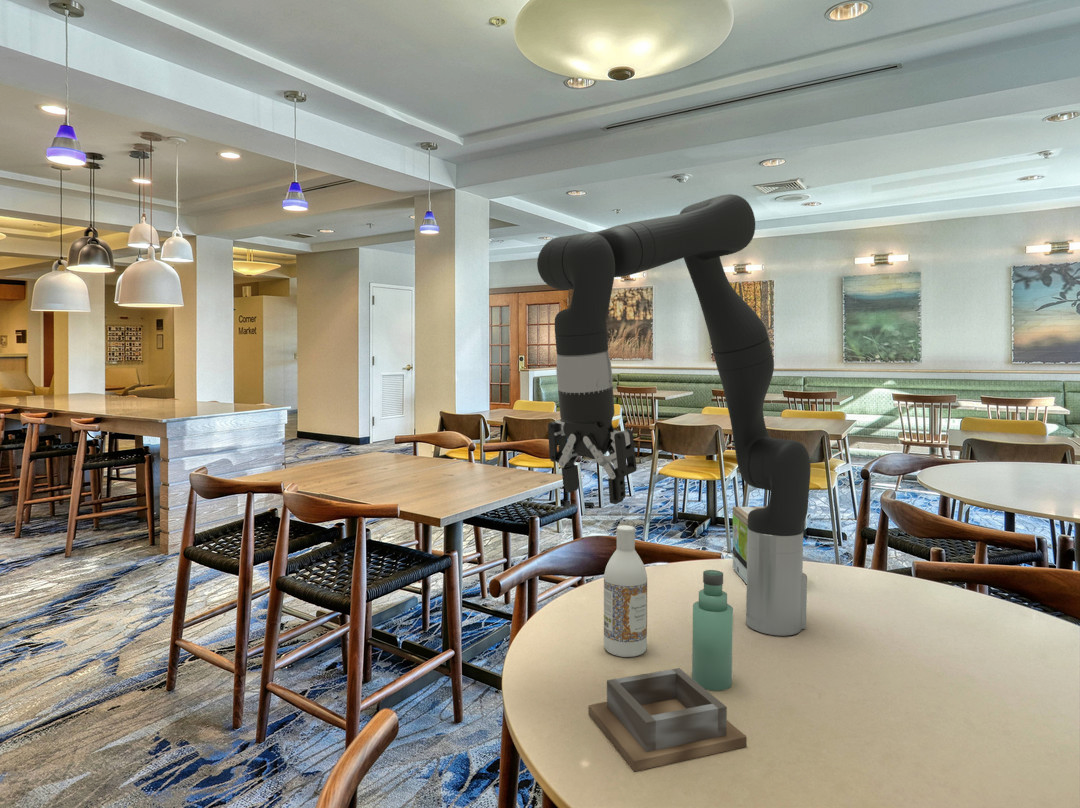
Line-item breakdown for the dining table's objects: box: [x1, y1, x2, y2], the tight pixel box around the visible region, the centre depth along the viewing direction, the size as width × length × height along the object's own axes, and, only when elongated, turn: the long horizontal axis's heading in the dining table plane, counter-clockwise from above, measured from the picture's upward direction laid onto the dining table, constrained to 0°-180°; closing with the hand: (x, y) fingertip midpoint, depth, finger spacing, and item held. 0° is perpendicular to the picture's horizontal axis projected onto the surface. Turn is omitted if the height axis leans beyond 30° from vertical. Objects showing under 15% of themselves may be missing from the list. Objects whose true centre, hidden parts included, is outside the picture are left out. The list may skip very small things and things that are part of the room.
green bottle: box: [691, 569, 734, 692], centre depth 94 cm, size 6×6×16 cm
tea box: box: [732, 506, 766, 584], centre depth 140 cm, size 15×10×15 cm
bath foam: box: [603, 524, 648, 658], centre depth 105 cm, size 7×7×20 cm
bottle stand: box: [588, 667, 748, 772], centre depth 81 cm, size 15×13×5 cm
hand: (593, 496), depth 92 cm, fingers open, 8 cm apart
